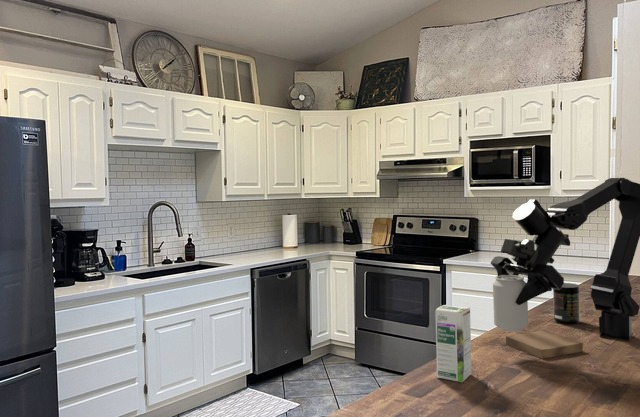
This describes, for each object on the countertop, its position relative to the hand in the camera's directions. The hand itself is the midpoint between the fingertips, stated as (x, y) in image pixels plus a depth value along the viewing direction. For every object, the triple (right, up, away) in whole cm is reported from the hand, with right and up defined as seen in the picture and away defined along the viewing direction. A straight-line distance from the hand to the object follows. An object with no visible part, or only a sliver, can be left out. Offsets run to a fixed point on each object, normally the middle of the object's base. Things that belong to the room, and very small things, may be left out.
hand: (505, 300), depth 121 cm
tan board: (+11, -12, +6) cm, 17 cm away
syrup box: (-15, -14, -11) cm, 23 cm away
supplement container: (+27, -11, +27) cm, 40 cm away
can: (+2, -7, +1) cm, 7 cm away
